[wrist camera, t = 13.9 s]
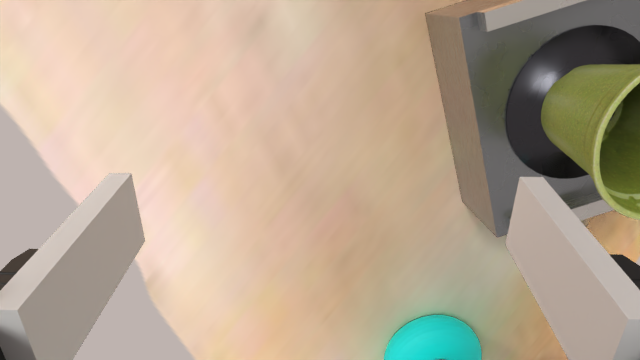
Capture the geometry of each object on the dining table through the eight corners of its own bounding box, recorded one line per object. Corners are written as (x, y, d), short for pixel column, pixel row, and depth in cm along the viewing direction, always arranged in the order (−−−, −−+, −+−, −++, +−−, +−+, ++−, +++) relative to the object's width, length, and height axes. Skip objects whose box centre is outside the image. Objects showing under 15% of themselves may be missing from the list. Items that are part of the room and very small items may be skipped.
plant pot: (502, 167, 35) (574, 218, 27) (534, 33, 32) (626, 46, 24) (618, 172, 36) (720, 223, 28) (660, 44, 33) (789, 61, 25)
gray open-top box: (425, 13, 37) (466, 18, 30) (608, -46, 37) (696, -56, 30) (467, 228, 45) (509, 276, 37) (620, 180, 45) (692, 218, 37)
